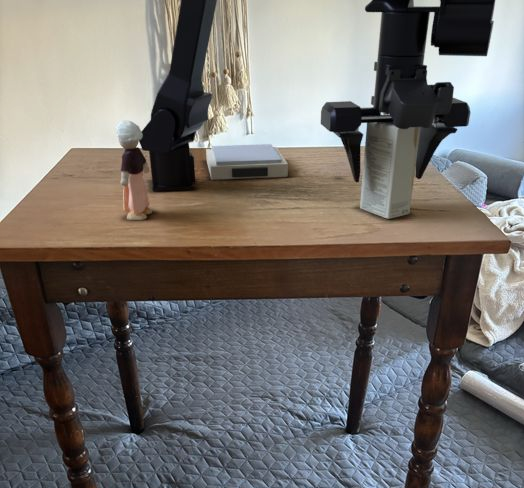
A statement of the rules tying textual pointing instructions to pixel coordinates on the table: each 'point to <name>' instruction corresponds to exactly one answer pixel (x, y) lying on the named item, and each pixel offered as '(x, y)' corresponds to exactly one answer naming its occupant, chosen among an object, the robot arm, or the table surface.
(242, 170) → the scale
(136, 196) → the grandmother figurine
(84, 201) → the table surface
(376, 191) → the cosmetic box
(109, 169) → the table surface
